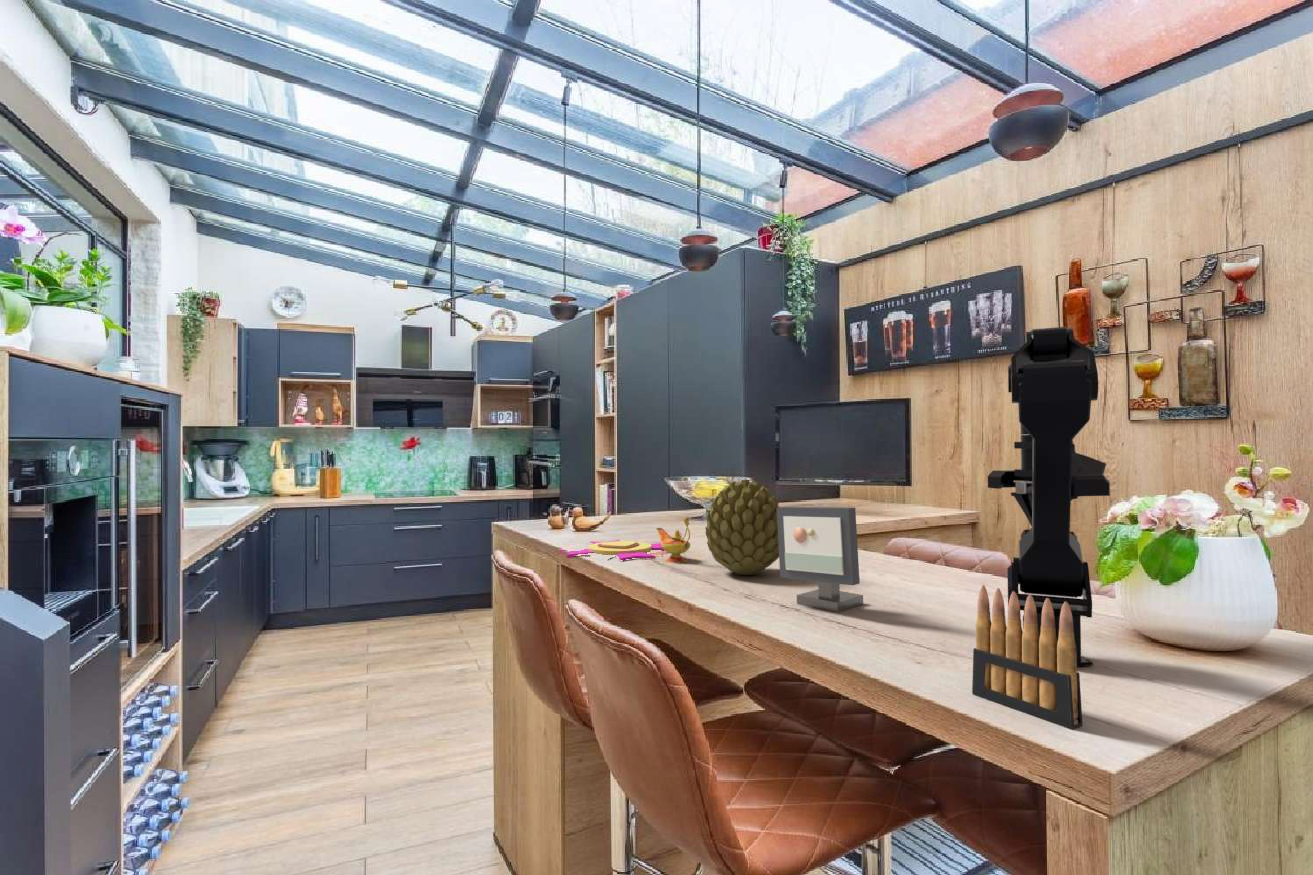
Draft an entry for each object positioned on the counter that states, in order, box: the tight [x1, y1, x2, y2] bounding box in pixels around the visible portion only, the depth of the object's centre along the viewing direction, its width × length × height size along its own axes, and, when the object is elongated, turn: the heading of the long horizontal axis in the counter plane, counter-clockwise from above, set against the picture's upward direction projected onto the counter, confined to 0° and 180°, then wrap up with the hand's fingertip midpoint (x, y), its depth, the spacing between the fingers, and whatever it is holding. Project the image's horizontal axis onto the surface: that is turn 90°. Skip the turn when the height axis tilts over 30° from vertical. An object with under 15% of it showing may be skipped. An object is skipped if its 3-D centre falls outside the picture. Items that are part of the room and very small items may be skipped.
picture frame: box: [777, 506, 861, 586], centre depth 110 cm, size 14×2×12 cm, turn 43°
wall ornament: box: [558, 539, 669, 561], centre depth 174 cm, size 30×2×30 cm
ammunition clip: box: [971, 584, 1084, 730], centre depth 69 cm, size 11×2×12 cm, turn 30°
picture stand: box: [796, 582, 864, 613], centre depth 115 cm, size 8×8×14 cm
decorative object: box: [705, 479, 781, 576], centre depth 142 cm, size 17×17×20 cm
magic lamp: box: [655, 516, 691, 563], centre depth 160 cm, size 7×18×11 cm, turn 24°
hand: (1044, 541), depth 97 cm, fingers closed
